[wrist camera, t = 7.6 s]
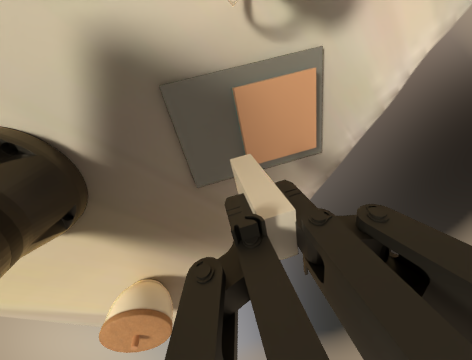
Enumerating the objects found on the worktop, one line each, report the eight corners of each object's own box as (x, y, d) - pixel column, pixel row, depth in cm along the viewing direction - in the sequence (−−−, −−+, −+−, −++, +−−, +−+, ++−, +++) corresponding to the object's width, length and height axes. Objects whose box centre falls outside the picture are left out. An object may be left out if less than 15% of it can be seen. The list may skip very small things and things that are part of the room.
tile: (249, 166, 26) (316, 147, 27) (233, 88, 21) (316, 67, 22) (246, 161, 28) (309, 143, 29) (231, 87, 23) (308, 68, 24)
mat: (196, 186, 29) (197, 187, 28) (159, 85, 22) (158, 85, 22) (319, 151, 30) (321, 152, 30) (319, 46, 23) (322, 45, 23)
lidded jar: (128, 311, 39) (110, 372, 31) (106, 278, 34) (79, 341, 26) (181, 298, 40) (177, 353, 32) (168, 265, 35) (160, 320, 27)
